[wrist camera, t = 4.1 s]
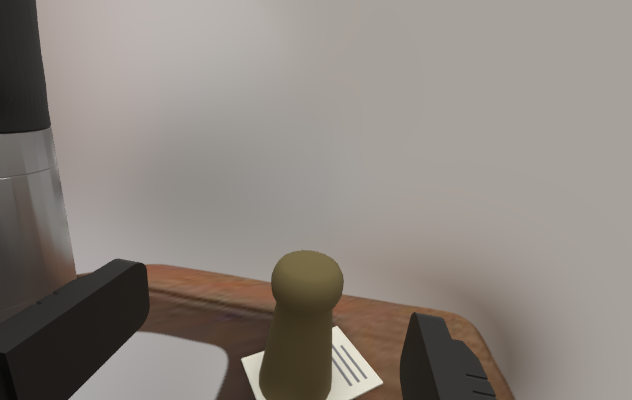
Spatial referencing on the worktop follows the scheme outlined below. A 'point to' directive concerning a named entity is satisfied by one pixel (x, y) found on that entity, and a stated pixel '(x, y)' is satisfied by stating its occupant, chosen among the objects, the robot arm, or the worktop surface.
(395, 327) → the worktop surface
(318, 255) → the cork
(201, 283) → the worktop surface
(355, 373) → the letter
